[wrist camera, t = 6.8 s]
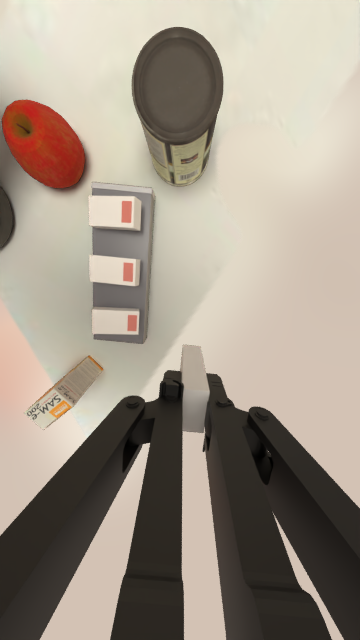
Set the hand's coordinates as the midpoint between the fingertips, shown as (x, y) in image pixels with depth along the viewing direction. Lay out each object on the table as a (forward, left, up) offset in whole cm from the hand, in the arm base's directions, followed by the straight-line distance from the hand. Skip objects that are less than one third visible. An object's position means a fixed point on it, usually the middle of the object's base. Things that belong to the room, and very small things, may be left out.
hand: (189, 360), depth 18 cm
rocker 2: (-13, +6, -21) cm, 26 cm away
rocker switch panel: (-13, +6, -26) cm, 30 cm away
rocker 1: (-13, +15, -21) cm, 29 cm away
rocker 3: (-13, -3, -21) cm, 25 cm away
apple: (-25, +24, -27) cm, 44 cm away
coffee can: (-4, +27, -27) cm, 38 cm away
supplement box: (-22, -18, -27) cm, 39 cm away
